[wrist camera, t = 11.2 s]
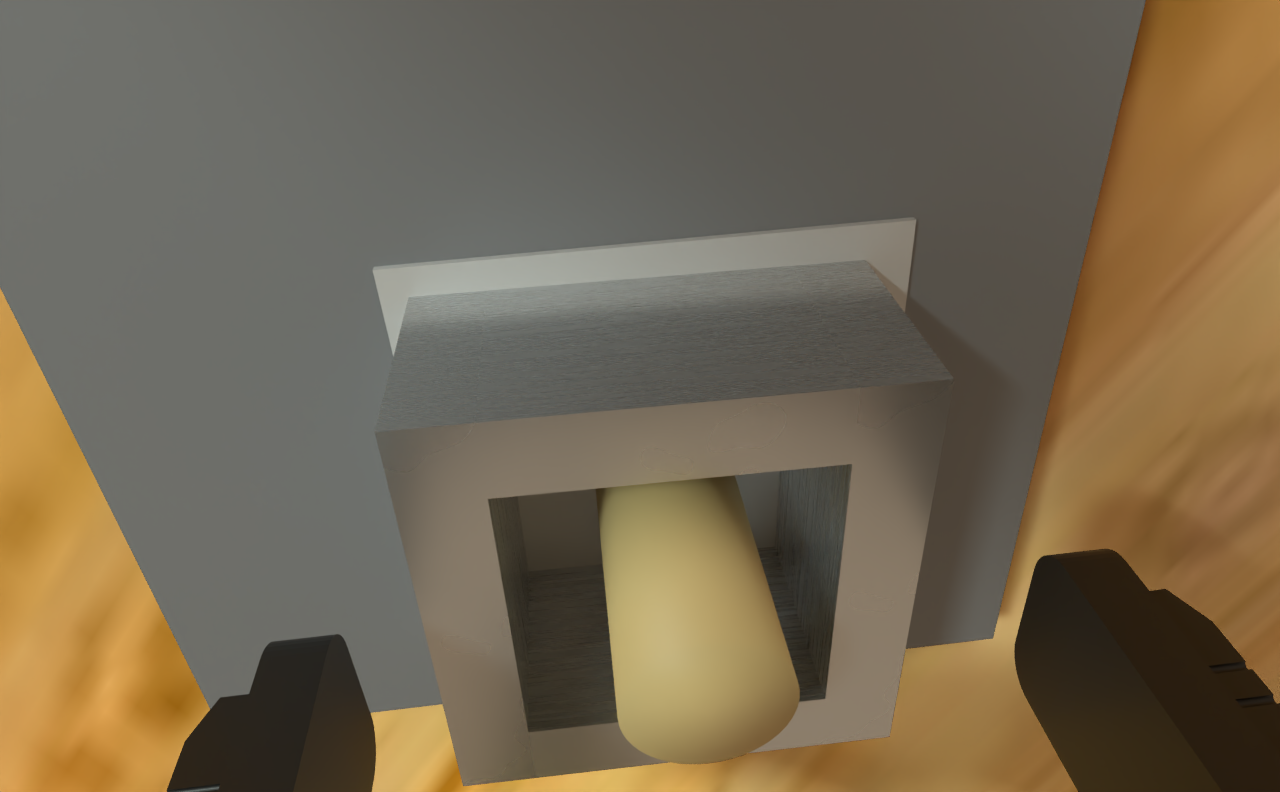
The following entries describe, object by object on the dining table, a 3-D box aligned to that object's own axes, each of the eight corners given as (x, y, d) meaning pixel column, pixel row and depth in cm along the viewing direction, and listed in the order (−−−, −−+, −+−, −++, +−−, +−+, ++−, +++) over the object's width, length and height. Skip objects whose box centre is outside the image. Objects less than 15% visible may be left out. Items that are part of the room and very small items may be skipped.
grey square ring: (408, 297, 11) (374, 431, 9) (865, 259, 12) (954, 378, 9) (474, 621, 15) (463, 786, 12) (830, 584, 15) (888, 735, 13)
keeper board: (-278, -505, 8) (-1537, -996, 3) (1189, -568, 9) (2018, -1042, 4) (243, 663, 17) (124, 1016, 12) (960, 580, 18) (1128, 881, 13)
